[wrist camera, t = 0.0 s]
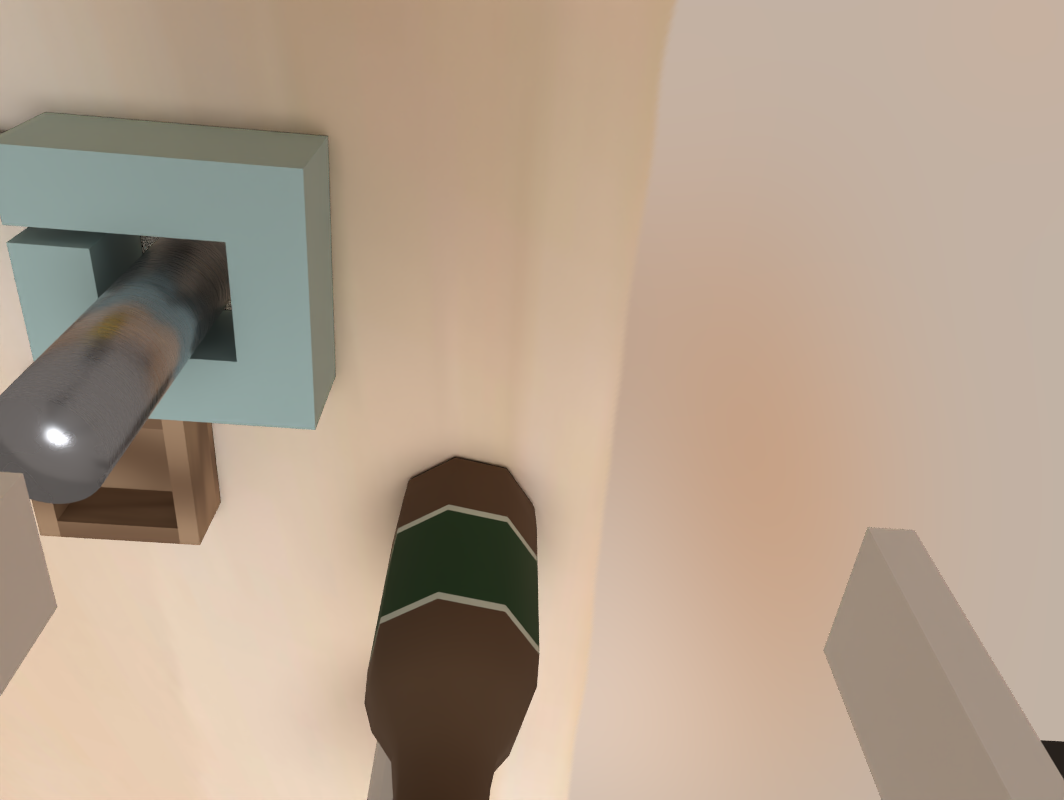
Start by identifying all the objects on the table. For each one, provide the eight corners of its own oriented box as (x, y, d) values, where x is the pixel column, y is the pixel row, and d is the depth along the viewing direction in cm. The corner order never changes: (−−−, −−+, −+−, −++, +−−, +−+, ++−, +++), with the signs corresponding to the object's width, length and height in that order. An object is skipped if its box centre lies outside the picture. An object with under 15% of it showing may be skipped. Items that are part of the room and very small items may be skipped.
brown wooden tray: (42, 364, 44) (6, 401, 41) (205, 375, 44) (181, 413, 41) (71, 492, 48) (40, 535, 45) (220, 502, 48) (199, 544, 45)
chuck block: (45, 112, 38) (-17, 142, 33) (327, 136, 38) (303, 168, 34) (92, 358, 44) (45, 411, 39) (335, 376, 44) (315, 429, 40)
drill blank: (153, 215, 40) (-41, 392, 26) (242, 222, 40) (96, 402, 26) (164, 295, 42) (-10, 499, 28) (249, 302, 42) (117, 507, 28)
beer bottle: (411, 570, 51) (335, 1041, 30) (382, 460, 47) (273, 917, 26) (544, 556, 51) (559, 1025, 30) (527, 444, 47) (530, 896, 26)
